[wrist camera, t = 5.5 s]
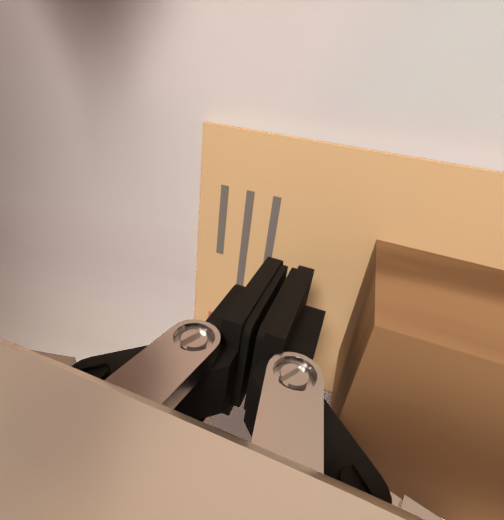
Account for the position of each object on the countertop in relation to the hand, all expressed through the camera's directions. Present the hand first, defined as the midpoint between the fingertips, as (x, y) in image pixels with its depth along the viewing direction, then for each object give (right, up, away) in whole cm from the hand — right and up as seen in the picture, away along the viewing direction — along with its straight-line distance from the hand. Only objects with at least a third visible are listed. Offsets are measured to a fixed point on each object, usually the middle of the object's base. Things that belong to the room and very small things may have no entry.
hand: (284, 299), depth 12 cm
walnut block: (+5, -1, 0) cm, 5 cm away
